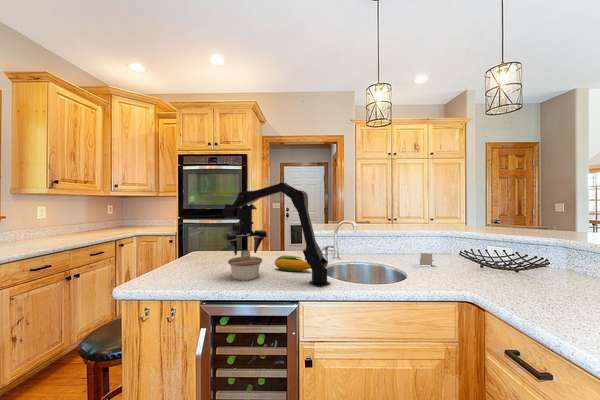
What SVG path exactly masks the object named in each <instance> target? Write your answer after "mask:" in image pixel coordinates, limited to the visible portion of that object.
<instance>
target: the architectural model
mask: <svg viewBox="0 0 600 400" xmlns="http://www.w3.org/2000/svg"><path fill="white" fill-rule="evenodd" d="M433 262H435V260H434V259H433V253H428V252H424V253H420V257H419V266H420V265H432V266H433Z"/></svg>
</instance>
